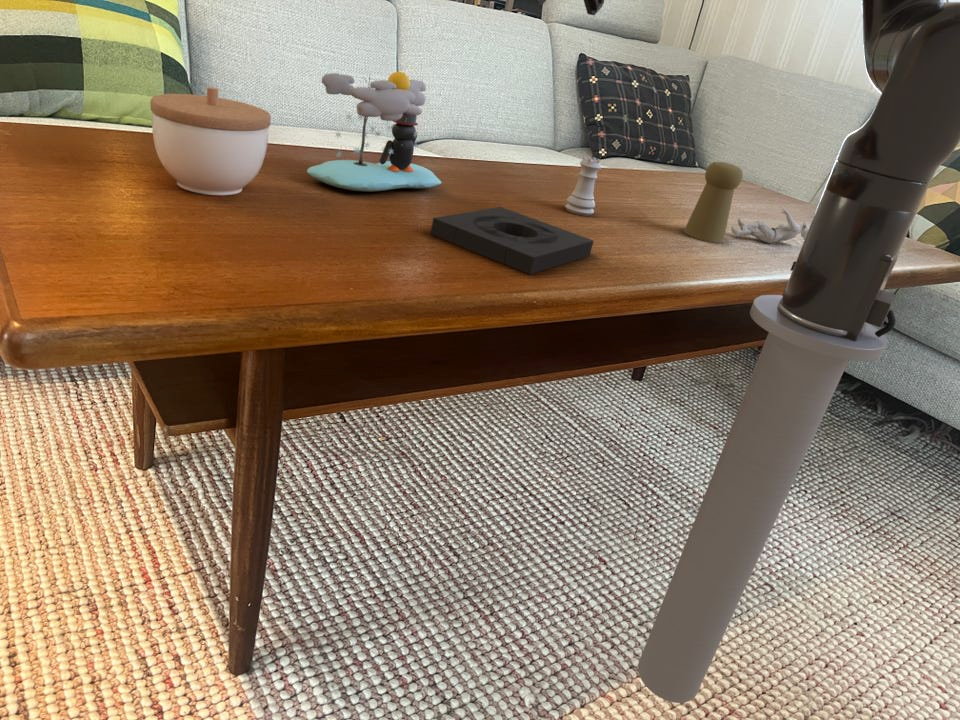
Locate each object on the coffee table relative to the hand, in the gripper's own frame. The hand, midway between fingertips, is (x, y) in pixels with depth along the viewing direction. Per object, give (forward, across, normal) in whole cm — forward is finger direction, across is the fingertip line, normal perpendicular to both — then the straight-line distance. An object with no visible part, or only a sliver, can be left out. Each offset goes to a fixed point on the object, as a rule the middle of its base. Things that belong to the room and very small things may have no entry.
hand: (568, 5), depth 89 cm
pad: (+10, -9, +27) cm, 31 cm away
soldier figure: (+45, -19, -8) cm, 50 cm away
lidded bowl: (-7, +17, +45) cm, 49 cm away
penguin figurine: (+10, +16, +28) cm, 34 cm away
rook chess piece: (+28, 0, +10) cm, 30 cm away
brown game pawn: (+38, -14, 0) cm, 40 cm away
